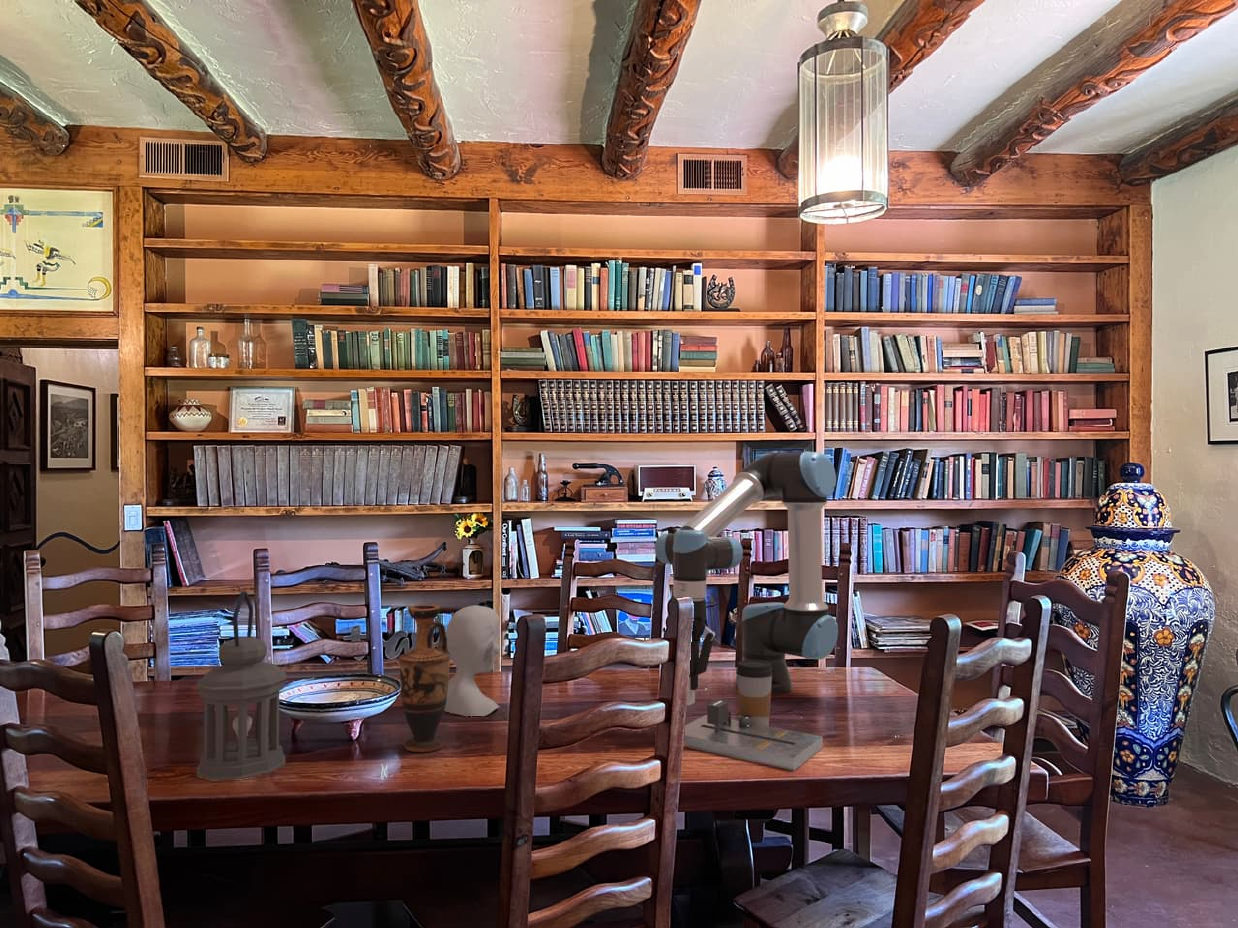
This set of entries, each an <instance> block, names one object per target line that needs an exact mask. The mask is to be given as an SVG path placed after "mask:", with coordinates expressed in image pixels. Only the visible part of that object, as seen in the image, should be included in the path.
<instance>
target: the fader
mask: <svg viewBox="0 0 1238 928" xmlns="http://www.w3.org/2000/svg"><path fill="white" fill-rule="evenodd" d="M706 708H707V709H706V710H707V711H706V712H707V713H706V715H707V723H708V724H714V729H715V730H720V731H721V724H722V723H724V722H726V721H728V712H729V711H728V710H729V703H728V702H727V701H723V700H714V701H713V702H710V703H708V704H706Z"/></svg>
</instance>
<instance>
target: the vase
mask: <svg viewBox="0 0 1238 928" xmlns="http://www.w3.org/2000/svg"><path fill="white" fill-rule="evenodd" d="M441 608H442V607H441V606H440V605H436V604H417V605H411V606H409V607H407V611H408V613H409V615H410V617H411V619H413V620H414V621H415V623H416V645H415V647H414V649H413V650H412V651H411V650H410V652H405V653H403V654H400V655H399V656H398V664H399V675H400V676H399V677H400V688H401V689H400V691H401V695H400V696H401V701H402V708H403V714H404V717H405V719H406V722H407V724H408V727H409V729H410V731H411V733H412V737H411V738H409V739H407V740H406V741H405V743H404V749H405V750H406V751H408V752H412V753H422V754H423V753H430V752H432V753H433V752H436V751H438V750H441V749H442V748H443V747H445V744H446V742H445V739H444V738H443V737H442V736H440V735H436V734H437V730H438V728H439V725H440V723H441V721H442V718H443V715H444V713H445V712H444V710H445V706H446V701H447V694H448V682H449V680H450V663H451V658H450V656H451V655H450V653H449V651H448V648H447V637H446V632H447V631H446V628H445V625H444V624H443V623H442V622H441V621H440V622H439V621H438V620H435V619H436V618H438V615H439V613H440V612H441ZM437 628H438V629H437ZM436 629H437V630H438V635H439V636H438V637H439V639H438V644H437V646H436V647H435V646H434V634H435V631H436Z"/></svg>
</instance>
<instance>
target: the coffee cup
mask: <svg viewBox="0 0 1238 928" xmlns="http://www.w3.org/2000/svg"><path fill="white" fill-rule="evenodd" d="M735 673H736V677H737V680H738V688H737V697H738V698H737V699H738V712H739V715H750V716H751V723H754V724H759V725H765V726H769V724H770V714H771V702H772V701H771V700H772V699H771V697H772V694H771V680H772V675H773V673H772V668H771V666H770V663H768V662H765V661H760V660H744V661H742V660H741V661H739V662H738V663H737V667H736V672H735ZM739 715H738V716H739Z"/></svg>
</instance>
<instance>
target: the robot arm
mask: <svg viewBox="0 0 1238 928" xmlns="http://www.w3.org/2000/svg"><path fill="white" fill-rule="evenodd" d="M732 479H733V480H732V483H731V484H729V485H728V486H727V487H726V488H725V489H723V491H721V492H720V493H719V494H718V495H717V496H716V497H714V498H713V499H712V500H711V501H710V502H709V503H707V505H705V506H704V507H703V508H702V509H700V510H699V512H698V513H696V514H695V515H694V516H693V517H692V518H690V519H689V520H688V522H686V523H685V524H684V525H682V526H681V528H679V529H678V530H676V531H675V532H674V533H671V532H669V533H663V534H661V535H659V536H658V537H657V538H656V541H655V544H654V554H655V556H656V558H657V559H658V561H659V562H661V563H662V564H668V565H671V566H673V569H672V570H673V575H672V576H673V577H672V578H673V579H672V582H673V583H672V585H673V588H672V589H673V591H672V594H673V597H674V598H675V599H676V598H683V597H691V598H692V599H693V603H694V621H693V631H692V642H691V660H690V675H689V681H688V694H687V705H686V706H691V705H693V704H695V703H696V690H698V689H699V675H701V674H704V673H706V672H707V670H708V664H709V660H710V655H711V652H712V646H713V644H714V643H713V642H714V641H715V639H716V638H717V635H718V633H717V631H712V630H711V629H710V628H709V627H708V623H707V620H706V618H707V600H706V597H707V572H708V571H717V570H729V569H732V568H736V567H738V566H739V564H741V562H742V560H743V556H744V553H743V552H744V551H743V550H744V549H743V546H742V543H741V542H740V541H739V540H738V539H737V538H735V537H732V536H724V535H723V536H721V537H719V536H718V535H719V534H720V533H722V532H723V531H724V530H725V529H726V528H727V527H728V526H729V525H730V524H731V523H733V521H735V520H736V519H737V518H738V517H739V516H740V515H741V514H742V513H743V512H745V511H746V510H747V509H748V508H749V507H750V506H752V505H753V504H757V503H760V502H761V501H762V500H763V499H764V498H768V497H773V496H779V497H781V504H782V505H783V506H784V507H785V508H786V509H787V537H788V538H787V540H788V543H787V544H788V545H787V547H788V548H787V549H788V554H787V555H788V600H787V601H786V602H785V603H784V602H762V603H754V604H747V605H746V606H744V607H743V609H742V616H741V617H742V619H741V631H742V632H741V636H742V638H741V642H742V643H741V644H742V648H741V649H742V655H741V656H742V657H741V661H744V660H760V661H765V662H768V663H770V666H771V668H772V673H773V675H772V680H771V695H777V694H783V693H788V692H790V691H791V690H792V686H793V684H792V678H791V674H790V672H789V668H788V665H787V661H786V655H789V656H794V657H801V658H804V659H806V660H810V659H812V660H822V659H825V658H827V657H828V656H829V655H830V654H831V653H832V651H833V649H834V648H835V646H836V643H837V641H838V635H839V626H838V625H839V624H838V622H837V620H836V619H835V618H834V617H833V616H832V615H829V605H828V604H827V603H826V602H824V600H823V572H822V571H823V569H822V568H823V566H822V564H823V560H822V559H823V557H822V555H823V553H822V552H823V551H822V549H823V546H822V509H823V508H824V507H825V506H826V504H827V503H828V498H827V497H829V496H831V495H832V494H833V493H834V491H835V488H836V484H837V474H836V470H835V467H834V464H833V463H832V461H831V460H830V459H829V457H828V456H827V455H825V453H822V452H816V451H797V452H795V451H793V452H791V451H790V452H772V453H769V454H766V455H763V456H761V457H760V458H757V459H755V460H753V461H752V462H750V463H749V464H747V465H746V466H745V467H744V468H742V469H741V470H740V471H739V472H738V473H736V474H735V476H733V478H732ZM665 627H666V626H665ZM665 627H663V628H662V632H663V633H664V632H665ZM702 636H703V641H702V645H701V649H700V644H701V638H702ZM735 687H736V688H737V689H738V680H737V676H736V677H735Z"/></svg>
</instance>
